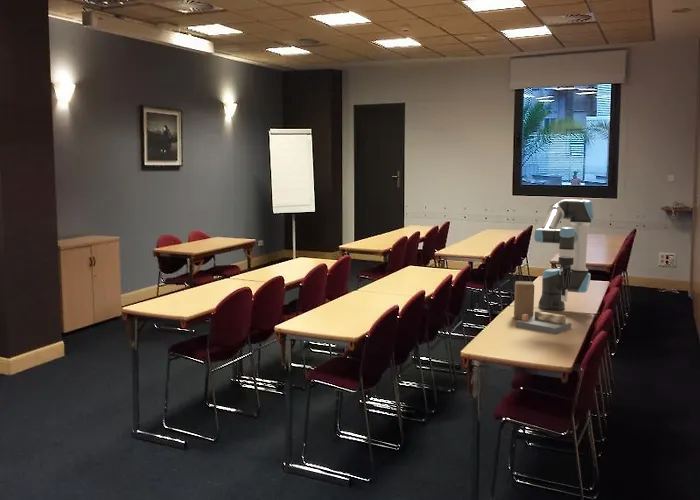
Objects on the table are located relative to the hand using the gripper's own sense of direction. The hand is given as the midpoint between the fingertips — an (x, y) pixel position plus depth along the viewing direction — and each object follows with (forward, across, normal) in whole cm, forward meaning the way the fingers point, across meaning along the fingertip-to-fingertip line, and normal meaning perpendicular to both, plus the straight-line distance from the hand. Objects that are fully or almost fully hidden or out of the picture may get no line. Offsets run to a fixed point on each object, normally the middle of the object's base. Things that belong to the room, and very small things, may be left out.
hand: (564, 301), depth 348 cm
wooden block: (+13, -1, -24) cm, 28 cm away
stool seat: (+13, +11, -5) cm, 18 cm away
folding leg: (+10, +7, -4) cm, 13 cm away
